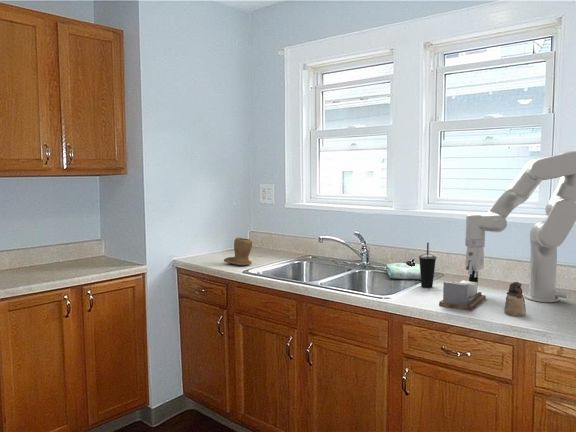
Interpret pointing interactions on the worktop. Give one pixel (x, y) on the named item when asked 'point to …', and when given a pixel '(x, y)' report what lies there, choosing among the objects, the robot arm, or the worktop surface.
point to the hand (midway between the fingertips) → (473, 286)
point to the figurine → (515, 301)
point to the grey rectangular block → (456, 293)
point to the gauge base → (473, 302)
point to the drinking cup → (427, 269)
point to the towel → (403, 271)
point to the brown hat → (241, 252)
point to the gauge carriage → (471, 287)
